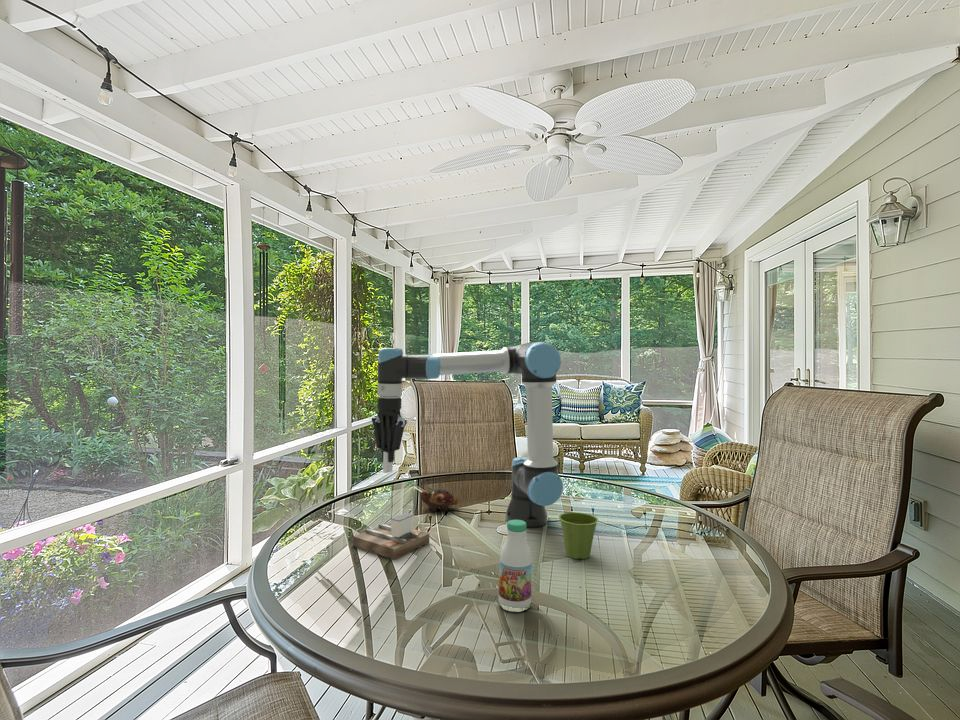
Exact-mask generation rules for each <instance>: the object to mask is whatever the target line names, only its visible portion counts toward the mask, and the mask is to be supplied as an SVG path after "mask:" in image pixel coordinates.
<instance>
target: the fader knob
mask: <svg viewBox="0 0 960 720" xmlns="http://www.w3.org/2000/svg"><path fill="white" fill-rule="evenodd" d="M390 520H391V521H390V523H391V535H392V536H395V537H399V538H403V539H406V538H408V537H410V532H412V531H414V529H415V528H414V523H415V514H413V513H409V512H405V513H401V514H399V515H397V516H394V517H391V518H390Z"/></svg>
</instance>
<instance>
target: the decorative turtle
mask: <svg viewBox="0 0 960 720" xmlns="http://www.w3.org/2000/svg"><path fill="white" fill-rule="evenodd" d="M420 499H421V501H422V502H423V503H424V504H425V505H427V507H428V508H429V509H430V510H431V512H433V513H435V512H437V510H439V509H440V510H441V511H443V512H447V510H448V508H449V506H452V505H453V506H455V505H458V503H459V501H460V499H459V498H458V497H456V496H454V494H453V493H452V492H451V491H449V490H447V489H443V488H439V489H438V488H437V489H434V490H431V491H430V490H426V489H425V490H422V491H421V492H420Z"/></svg>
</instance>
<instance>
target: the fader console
mask: <svg viewBox="0 0 960 720" xmlns="http://www.w3.org/2000/svg"><path fill="white" fill-rule="evenodd" d="M352 537H353V538H352V540H353V541H352V547H354V546H355V547H354V548H357V547H358V549H361V550H364V551H366V552H370V553H373V554H376V555H380V556H383V557H386V558H388V559H392V560H398V558H400V557H403V556H405V555H407V554H409V553H411V552H414V551H415V550H417V549H419V548H420V547H419V546H421V547H423V546H422V545H424V544H426V545H427V543H428V544H429V543H430V533H429V532H426V531H422V530H418V529H415V528H414V531H412V532H410V537H408V538H406V539H403V538H399V537H395V536H392V535H391V521H390V522H387V523H385V524H384V523H378V526H377V527H374V528H372V529H371V528H366V529H365V531H364V532H362V533H358V534H356V535H354V536H352ZM424 546H425V545H424ZM418 547H419V548H418ZM416 548H417V549H416ZM414 549H415V550H414Z"/></svg>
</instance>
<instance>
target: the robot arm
mask: <svg viewBox="0 0 960 720" xmlns="http://www.w3.org/2000/svg"><path fill="white" fill-rule="evenodd" d="M377 356H378V358H377V396H378V397H377V399H376V409H377V410H378V411H377V416H375V417H372V418H371V422H372V425H373V431H374V436H375V442H376V448H377V449H380V450H381V460H382V473H383V474H384V473H385V474H388V473H392V472H393V468H394V467H393V462H395V452H396V451H399V450H400V449H401V444H402V439H403V435H404V431H405V427H406V425H407V424H408V421H407V420H404V419H403V418H402V417H401V409H402V399H403V398H401V396H403V395H402V394H403V393H402V392H403V389H402V388H403V385H402V384H403V379H419V380H420V379H421V380H422V379H427V380H431V379H433V380H434V379H438V378H439V377H440V376H447V375H464V374H466V375H467V374H477V373H479V374H480V373H492V372H493V373H495V372H503V373H504V374H506V375H507V374H509V375H510V374H515V375H516V374H517V375H521V383H522V384H523V385H524V386H525V388H526V391H525V392H526V396H525V397H526V430H527V431H526V432H527V433H526V434H527V435H526V436H527V437H526V438H527V439H526V440H527V443H526V444H527V456H520V457H519V456H518V457H517V456H516V457H514V458H513V459H512V463H511V486H510V487H511V489H510V490H511V491H510V492H511V494H510V499H509V503H508V505H507V509H506V511H505V512H506V513H505V521H506V523H508V521H510V520H522V521H525V522H526V528H537V527H542V526H545V525H546V524H547V523H548V512H547V508H546V507H548V506H551V505H553V504H555V503H556V502H557V501H558V500H560V499H561V497H562V495H563V492H564V482H563V480H562V477H560V475H559V462H558V461H557V460H556V459H555V458H554V439H553V438H554V428H553V427H554V426H553V425H554V424H553V387H554V385H555V384H556V383H557V373H558V371H559V370H560V368H561V364H562V359H561V355H560V352H559V350H558V349H557V348H556V347H555V346H554V345H553V344H551V343H549V342H544V341H536V342H525V343H522V344H518V345H513V346H504V347H503V348H501V349H498V350H497V349H496V350H495V349H494V350H493V349H492V350H480V351H478V350H477V351H465V352H464V351H463V352H462V351H461V352H447V353H446V352H445V353H433V354H431V353H429V354H427V353H426V354H404V351H403V348H399V347H398V348H397V347H396V348H395V347H381V348H380V349H379V350H378V355H377Z"/></svg>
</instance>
